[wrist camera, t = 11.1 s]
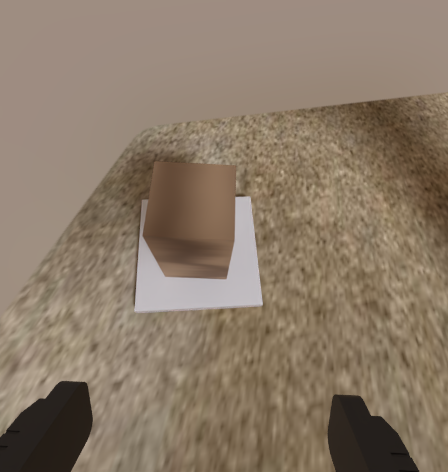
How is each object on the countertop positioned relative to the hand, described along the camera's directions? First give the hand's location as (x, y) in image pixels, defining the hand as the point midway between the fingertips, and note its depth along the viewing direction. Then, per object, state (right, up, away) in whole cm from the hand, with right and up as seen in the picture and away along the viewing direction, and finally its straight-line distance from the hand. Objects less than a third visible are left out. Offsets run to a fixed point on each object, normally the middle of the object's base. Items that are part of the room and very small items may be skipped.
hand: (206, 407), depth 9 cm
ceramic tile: (-2, +4, +20) cm, 21 cm away
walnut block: (-2, +4, +19) cm, 20 cm away
